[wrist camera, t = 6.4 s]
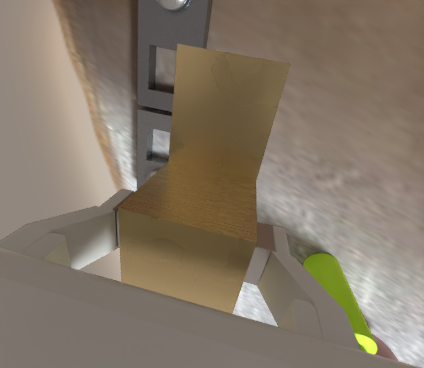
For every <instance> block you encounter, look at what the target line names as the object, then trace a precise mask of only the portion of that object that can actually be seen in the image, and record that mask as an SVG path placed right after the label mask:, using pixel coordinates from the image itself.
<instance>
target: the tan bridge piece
mask: <svg viewBox="0 0 424 368" xmlns="http://www.w3.org/2000/svg"><path fill="white" fill-rule="evenodd" d="M289 67H290V64H288V63H283V62H277V61H272V60H266V59H260V58H255V57H249V56H244V55H238V54H232V53H227V52H221V51H216V50H210V49H204V48H199V47H193V46H188V45H182V44H177V57H176V70H175V83H174V96H173V109H172V122H171V135H170V148H169V161H168V162H167V163H166V164H165V165H164V166H163V167H161V168H160V169H159V170H158V171H157V172H156V173H155V174H154V175H153V176H152V177H151V178H150V179H149V180H147V181H146V182H145V183H144V184H143V185H142V186H141V187H140V188H139V189H138V190H137V191H136V192H134V193H133V194H132V195H131V196H130V197H129V198H128V199H127V200H126V201H125V202H124V203H123V204H122V205H120V206H119V207H118V217H119V239H120V261H121V282H123V283H126V284H130V285H133V286H137V287H140V288H144V289H147V290H151V291H154V292H158V293H161V294H165V295H168V296H172V297H175V298H179V299H182V300H186V301H189V302H193V303H196V304H200V305H203V306H207V307H210V308H214V309H217V310H221V311H224V312H228V313H231V314H232V313H233V310H234V307H235V304H236V301H237V298H238V296H239V293H240V290H241V287H242V284H243V281H244V278H245V276H246V273H247V270H248V267H249V264H250V261H251V258H252V255H253V253H254V250H255V247H256V244H257V214H256V179H257V176H258V173H259V169H260V166H261V162H262V159H263V156H264V152H265V149H266V145H267V142H268V139H269V135H270V132H271V128H272V125H273V122H274V118H275V115H276V111H277V108H278V105H279V101H280V98H281V94H282V91H283V88H284V84H285V81H286V77H287V74H288V71H289Z"/></svg>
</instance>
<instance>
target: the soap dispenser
mask: <svg viewBox="0 0 424 368" xmlns="http://www.w3.org/2000/svg"><path fill="white" fill-rule="evenodd" d="M303 267H304V268H305V269H306V270H307V271H308V272H309V273H310V274H311V275H312V276H313V277H314V278H315V279H316V280H317V281H318V283H319V284H320V285H321V286H322V287H323V288H324V289H325V290H326V291H327V292H328V293H329V294H330V295H331V296H332V297H333V298H334V299H335V301H336V302H337V303H338V304H339V305H340V306H341V307H342V308H343V309H344V310H345V311H346V313H347V316H348V319H349V321H350V324H351V326H352V329H353V331H354V334H355V336H356V339H357V341H358V344H359V347H360V349H361V351H364V352H367V353H371V354H374V355H375V354H376V352H377V345H376V342H375V340H374V338H373V336H372V334H371V332H370V329H369V327H368V325H367V323H366V321H365V319H364V316H363V314H362V312H361V310H360V308H359V306H358V303H357V301H356V299H355V297H354V295H353V293H352V290H351V288H350V286H349V284H348V282H347V280H346V277H345V275H344V273H343V271H342V269H341V267H340V264H339V262H338V260H337V259H336V258H335V257H333V256H332V255H329V254H325V253H318V254H313V255H311V256H309V257H308V258H306V259H305V261H304V263H303Z"/></svg>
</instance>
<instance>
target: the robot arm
mask: <svg viewBox="0 0 424 368" xmlns="http://www.w3.org/2000/svg"><path fill="white" fill-rule="evenodd" d="M133 193H134V191H131V190H126V189H121V190H120V191H118V192H117V193H116V194H115V195H113V196H112V197H111V198H110V199H109V200H107V201H106V202H105V203H103V204H102V205H101V206H100V207H97V206H94V207H90V208H86V209H82V210H78V211H75V212H71V213H67V214H63V215H59V216H56V217H52V218H48V219H44V220H40V221H36V222H32V223H28V224H26V225H24V226H22V227H21V228H19V229H18V230H16V231H14V232H13V233H11V234H10V235H8V236H6V237H5V238H3V239H1V240H0V368H420V367H416V366H413V365H409V364H406V363H402V362H399V361H395V360H392V359H388V358H385V357H381V356H378V355H374V354H371V353H367V352H364V351H361V349H360V347H359V344H358V341H357V339H356V336H355V334H354V331H353V329H352V326H351V324H350V321H349V319H348V316H347V313H346V311H345V310H344V309H343V308H342V307H341V306H340V305H339V304H338V303H337V302H336V301H335V299H334V298H333V297H332V296H331V295H330V294H329V293H328V292H327V291H326V290H325V289H324V288H323V287H322V286H321V285H320V284H319V283H318V281H317V280H316V279H315V278H314V277H313V276H312V275H311V274H310V273H309V272H308V271H307V270H306V269H305V268H304V267H303V266H302V265H301V263H300V262H299V261H298V260H297V259H296V258H295V257H293V256H290V251H289V246H288V241H287V237H286V232H285V229H284V228H282V227H277V226H271V225H267V224H263V223H258V222H257V244H256V247H255V250H254V253H253V255H252V258H251V261H250V264H249V267H248V270H247V273H246V276H245V278H244V282H247V283H251V284H254V285H257V286H258V288H259V290H260V292H261V294H262V296H263V298H264V300H265V302H266V304H267V306H268V308H269V309H270V311H271V313H272V315H273V317H274V319H275V321H276V323H277V325H278V327H276V326H273V325H269V324H266V323H262V322H259V321H255V320H252V319H248V318H245V317H241V316H238V315H235V314H231V313H228V312H224V311H221V310H217V309H214V308H210V307H207V306H203V305H200V304H196V303H193V302H189V301H186V300H182V299H179V298H175V297H172V296H168V295H165V294H161V293H158V292H154V291H151V290H147V289H144V288H140V287H137V286H133V285H130V284H126V283H123V282H119V281H116V280H112V279H108V278H105V277H102V276H98V275H94V274H91V273H87V272H84V271H81V270H79V269H81V268H82V267H84V266H86V265H88V264H90V263H92V262H93V261H95V260H97V259H99V258H101V257H102V256H104V255H106V254H108V253H110V252H112V251H113V250H115V249H117V248H120V239H119V217H118V207H119V206H120V205H122V204H123V203H124V202H125V201H126V200H127V199H128V198H129V197H130V196H131V195H132V194H133Z"/></svg>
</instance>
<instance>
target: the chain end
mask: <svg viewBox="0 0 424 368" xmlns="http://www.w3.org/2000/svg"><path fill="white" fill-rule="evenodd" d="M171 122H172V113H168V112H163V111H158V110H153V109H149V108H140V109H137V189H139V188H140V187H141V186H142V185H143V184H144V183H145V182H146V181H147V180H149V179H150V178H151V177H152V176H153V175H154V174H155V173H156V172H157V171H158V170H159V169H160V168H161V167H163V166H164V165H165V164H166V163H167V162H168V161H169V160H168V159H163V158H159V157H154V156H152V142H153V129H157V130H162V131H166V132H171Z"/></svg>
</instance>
